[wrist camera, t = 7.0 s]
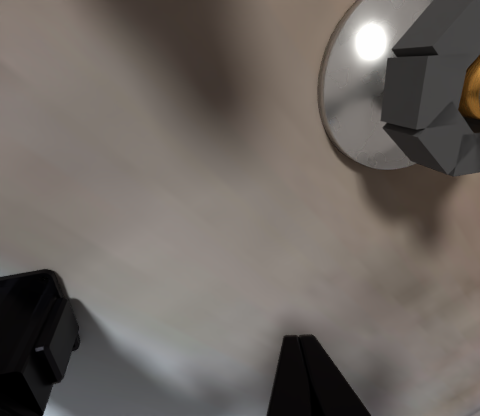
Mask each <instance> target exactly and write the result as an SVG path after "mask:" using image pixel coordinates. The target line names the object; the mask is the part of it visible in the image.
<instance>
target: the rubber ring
mask: <svg viewBox="0 0 480 416" xmlns="http://www.w3.org/2000/svg"><path fill="white" fill-rule="evenodd" d="M391 50H392V51H393V52H394V54H395V55H396V57H393V58H387V67H386V76H385V85H384V93H383V102H382V111H381V120H380V121H382V122H386V124H385V125H384V126H383V127H382V128H383V129H384V130H385V132H386V133H387V134H388V135H389V136H390V137H391V139H392V140H393V141H394V142H395V143H396V144H397V146H398V147H399V148H400V149H401V150H402V151H403V153H404V154H405V155H406V156H407V157H408V158H409V159H410V161H412V162H415V163H417V164H420V165H423V166H426V167H428V168H431V169H434V170H436V171H439V172H442V173H444V174H447V175H451V176H453V177H454V176H460V175H466V174H472V173H478V172H480V120H479V119H473V118H467V117H462V115H461V114H460V112H459V111H458V108H459V103H460V99H461V94H462V89H463V84H464V80H465V75H466V70H467V68H468V67H469V66H470V65H471V64H472V63H473V62H474V61H475V59H476V58H477V57H478V56H479V55H480V0H433V1H432V2H431V3H430V5H429V6H428V7H427V8H426V9H425V10H424V12H423V13H422V14H421V15H420V16H419V17H418V19H417V20H416V21H415V22H414V23H413V24H412V26H411V27H410V28H409V29H408V30H407V31H406V33H405V34H404V35H403V36H402V37H401V38H400V40H399V41H398V42H397V43H396V44H395V46H394V47H393V48H392V49H391Z"/></svg>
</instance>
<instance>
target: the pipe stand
mask: <svg viewBox="0 0 480 416" xmlns="http://www.w3.org/2000/svg"><path fill="white" fill-rule="evenodd" d="M432 1H433V0H357V1H356V2H355V3H354V4H353V5H352V6H351V7H350V8H349V9H348V10H347V12H346V13H345V14H344V16H343V17H342V19H341V20H340V21H339V23H338V24H337V26H336V28H335V30H334V31H333V33H332V35H331V37H330V39H329V42H328V44H327V46H326V49H325V52H324V55H323V58H322V62H321V66H320V71H319V77H318V105H319V112H320V116H321V120H322V123H323V126H324V128H325V130H326V133H327V135H328V136H329V138H330V139H331V141H332V142H333V144H334V145H335V146H336V147H337V148H338V149H339V150H340V151H341V152H342V153H343V154H344V155H346V156H347V157H349V158H351V159H352V160H354V161H356V162H358V163H361V164H363V165H365V166H368V167H371V168H375V169H382V170H392V169H400V168H404V167H408V166H411V165H414V164H416V163H415V162H412V161H410V159H409V158H408V157H407V156H406V155H405V154H404V153H403V151H402V150H401V149H400V148H399V147H398V146H397V144H396V143H395V142H394V141H393V140H392V139H391V137H390V136H389V135H388V134H387V133H386V132H385V130H384V129H383V128H382V127H383V126H384V125H385V124H386V122H382V121H380V120H381V111H382V102H383V93H384V85H385V76H386V67H387V58H393V57H396V55H395V54H394V52H393V51H392V50H391V49H392V48H393V47H394V46H395V44H396V43H397V42H398V41H399V40H400V38H401V37H402V36H403V35H404V34H405V33H406V31H407V30H408V29H409V28H410V27H411V26H412V24H413V23H414V22H415V21H416V20H417V19H418V17H419V16H420V15H421V14H422V13H423V12H424V10H425V9H426V8H427V7H428V6H429V5H430V3H431V2H432ZM458 111H459V112H460V114H461V115H462V117H467V118H473V119H479V120H480V55H479V56H478V57H477V58H476V59H475V61H474V62H473V63H472V64H471V65H470V66H469V67H468V68H467V70H466V75H465V80H464V84H463V89H462V94H461V99H460V103H459V108H458Z"/></svg>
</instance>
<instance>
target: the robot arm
mask: <svg viewBox="0 0 480 416" xmlns="http://www.w3.org/2000/svg"><path fill="white" fill-rule="evenodd" d="M42 276H44V277H47V278H48V280H46V279H43V278H42ZM78 330H79V326H78V323H77V321H76V318H75V316H74V313H73V310H72V308H71V305H70V303H69V300H68V299H67V298H65V297H63V294H62V291H61V289H60V286H59V284H58V281H57V279H56V276H55V274H54V272H52V271H51V270H48V269H43V270H37V271H32V272H26V273H20V274H15V275H9V276H4V277H0V416H43V414H44V411H45V408H46V405H47V402H48V399H49V396H50V393H51V390H52V387H53V384H56V383H60V382H61V380H62V379H63V378H64V375H65V372H66V369H67V365H68V362H69V359H70V356H71V352H72V351H75V350H77V349H78V348H79V345H80V338H79V335H78ZM267 416H371V414H370V413H369V412H368V410H367V409H366V407H365V406H364V405H363V403H362V402H361V400H360V399H359V398H358V396H357V395H356V393H355V392H354V391H353V389H352V388H351V386H350V385H349V384H348V382H347V381H346V379H345V378H344V377H343V375H342V374H341V372H340V371H339V370H338V368H337V367H336V365H335V364H334V363H333V361H332V360H331V358H330V357H329V356H328V354H327V353H326V351H325V350H324V349H323V347H322V346H321V344H320V343H319V342H318V340H317V339H316V338H315V336H313V335H300V336H299V337H298V336H297V335H285V336H284V337H283V341H282V346H281V351H280V355H279V360H278V365H277V369H276V374H275V379H274V383H273V388H272V393H271V397H270V402H269V406H268V411H267Z"/></svg>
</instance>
